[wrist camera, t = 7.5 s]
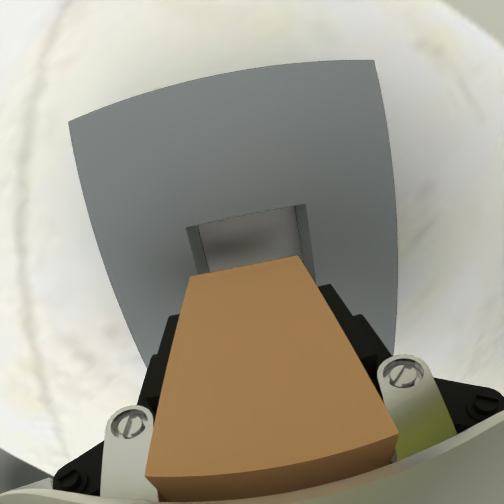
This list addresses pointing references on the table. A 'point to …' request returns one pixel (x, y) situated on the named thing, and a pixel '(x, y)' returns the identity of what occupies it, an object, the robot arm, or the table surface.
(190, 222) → the socket board
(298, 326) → the peg
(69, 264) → the table surface
